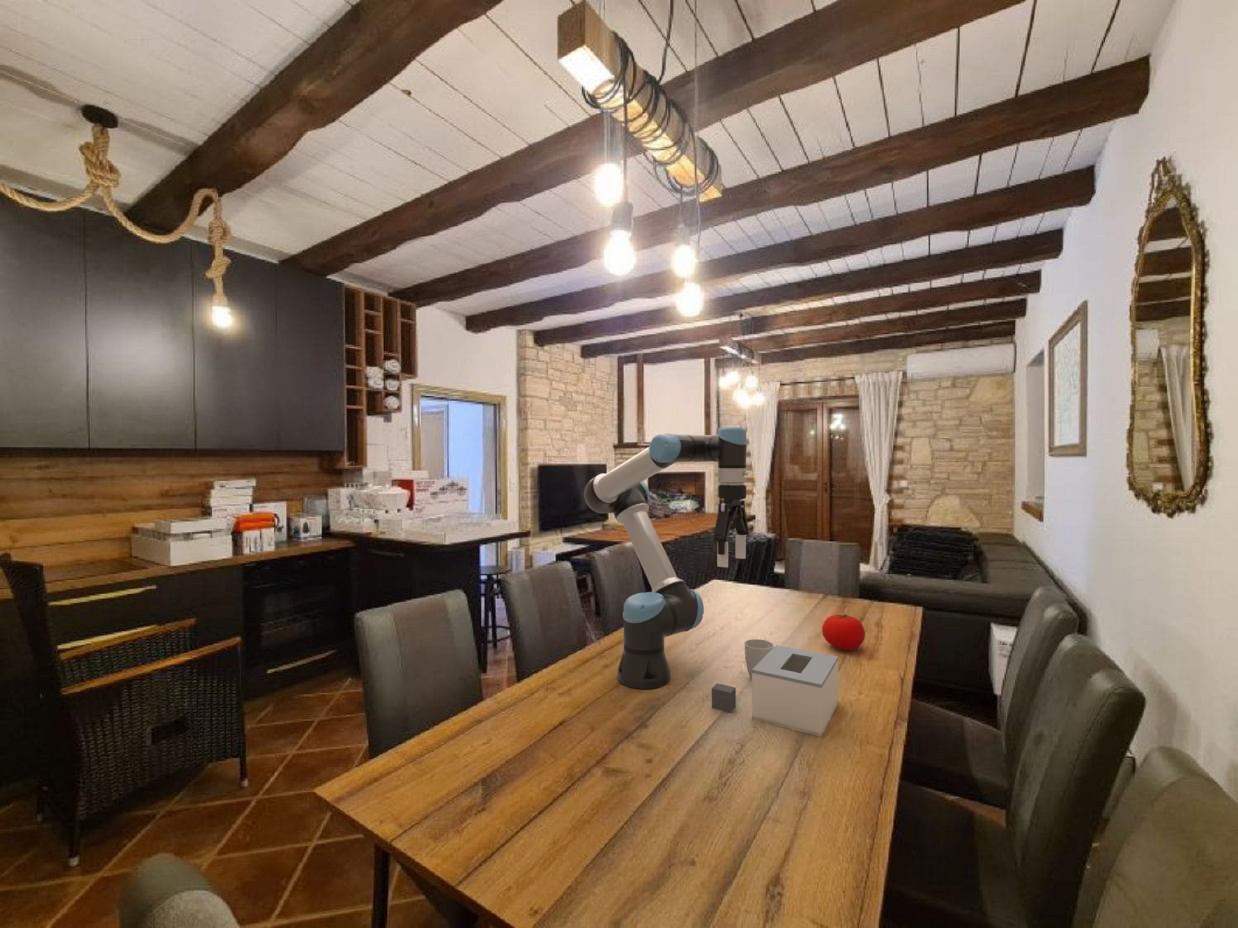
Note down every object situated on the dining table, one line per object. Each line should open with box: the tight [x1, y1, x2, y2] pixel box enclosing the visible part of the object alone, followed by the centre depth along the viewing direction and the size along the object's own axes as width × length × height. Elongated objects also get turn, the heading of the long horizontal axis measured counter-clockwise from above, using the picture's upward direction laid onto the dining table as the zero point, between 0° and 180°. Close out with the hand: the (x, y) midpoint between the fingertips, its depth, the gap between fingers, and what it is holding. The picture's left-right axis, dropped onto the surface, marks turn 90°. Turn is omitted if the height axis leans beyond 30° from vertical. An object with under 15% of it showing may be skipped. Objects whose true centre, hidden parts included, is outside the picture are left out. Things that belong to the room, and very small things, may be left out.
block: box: [711, 682, 737, 713], centre depth 137 cm, size 5×4×5 cm
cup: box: [743, 638, 775, 681], centre depth 154 cm, size 8×8×10 cm
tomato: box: [821, 614, 866, 651], centre depth 179 cm, size 12×13×11 cm
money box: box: [751, 644, 839, 738], centre depth 135 cm, size 16×20×12 cm
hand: (731, 562), depth 147 cm, fingers open, 13 cm apart
